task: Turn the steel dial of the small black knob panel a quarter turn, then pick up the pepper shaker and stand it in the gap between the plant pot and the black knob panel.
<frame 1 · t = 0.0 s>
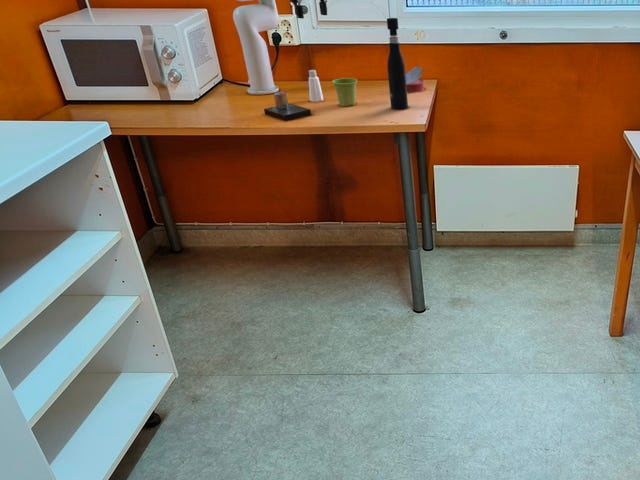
hand: (312, 16, 222), 31 cm above the table, tool pointing down, fingers open, 9 cm apart
black knob panel: (288, 114, 235), on the table
tissue box: (412, 89, 265), on the table
plant pot: (347, 105, 246), on the table
hob knob: (281, 100, 234), point 5 cm above the table, hinge at 0.0°
pepper shaker: (316, 100, 252), on the table
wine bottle: (399, 108, 241), on the table
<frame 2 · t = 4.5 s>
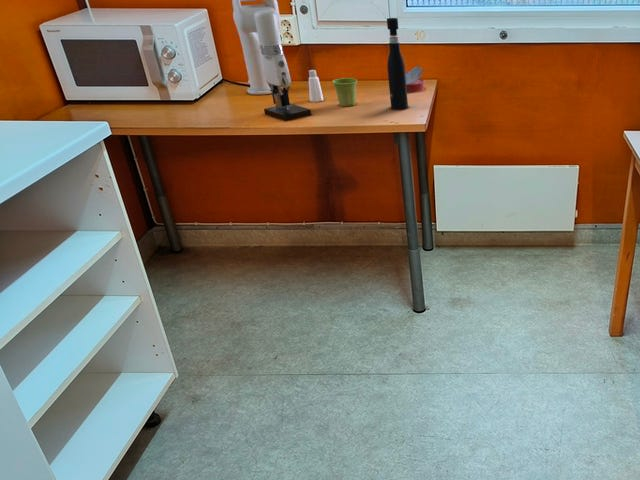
hand: (281, 103, 235), 3 cm above the table, tool pointing down, fingers closed on hob knob, 4 cm apart
hob knob: (281, 100, 234), point 5 cm above the table, hinge at 0.1°, touching gripper
everything else where it was.
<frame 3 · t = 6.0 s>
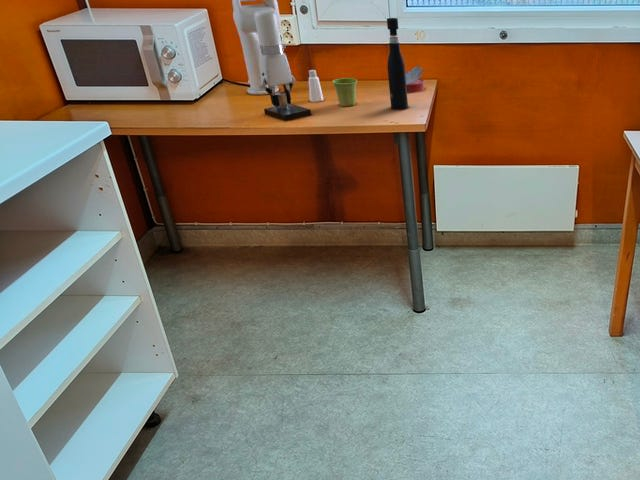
hand: (281, 103, 235), 3 cm above the table, tool pointing down, fingers closed on hob knob, 4 cm apart
hob knob: (281, 100, 234), point 5 cm above the table, hinge at 90.0°, touching gripper
everything else where it was.
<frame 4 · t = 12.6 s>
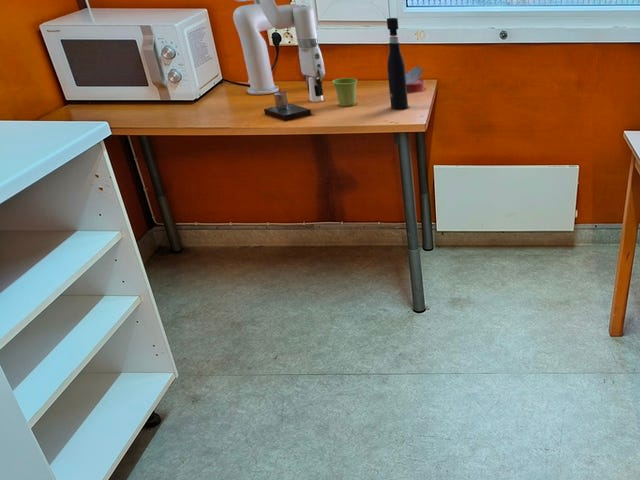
hand: (315, 94, 251), 2 cm above the table, tool pointing down, fingers closed on pepper shaker, 3 cm apart
hob knob: (281, 100, 234), point 5 cm above the table, hinge at 88.6°
pepper shaker: (316, 100, 252), on the table, touching gripper
everything else where it was.
when the fingers open (2 cm above the table, at t = 19.2 s): pepper shaker stays where it is, on the table.
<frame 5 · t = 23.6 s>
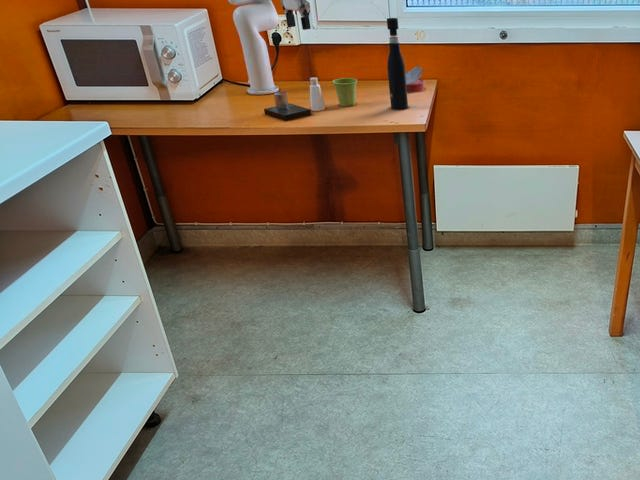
hand: (299, 28, 233), 26 cm above the table, tool pointing down, fingers open, 9 cm apart
pepper shaker: (318, 109, 241), on the table
everything else where it was.
at the end: hob knob at +89° (first picture: +0°); pepper shaker inside the target area (0.3 cm from its centre), on the table; pepper shaker tilted 0° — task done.
